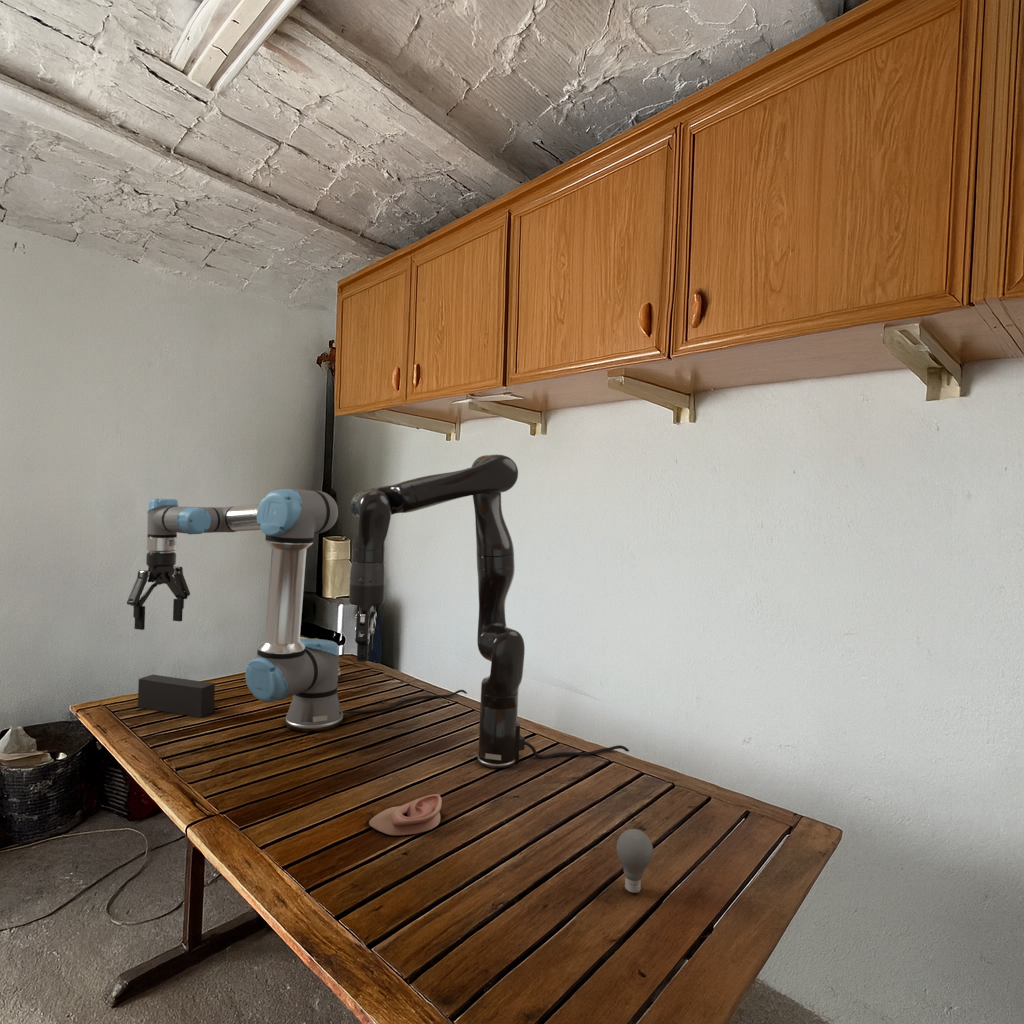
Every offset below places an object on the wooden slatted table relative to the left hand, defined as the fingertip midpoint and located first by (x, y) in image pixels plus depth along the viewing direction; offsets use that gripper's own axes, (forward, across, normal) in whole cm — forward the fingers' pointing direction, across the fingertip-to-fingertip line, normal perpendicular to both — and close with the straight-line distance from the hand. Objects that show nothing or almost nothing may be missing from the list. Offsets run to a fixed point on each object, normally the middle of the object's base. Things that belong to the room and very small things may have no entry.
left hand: (159, 625), depth 183 cm
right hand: (-5, -25, -80) cm, 84 cm away
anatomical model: (+24, -34, -96) cm, 104 cm away
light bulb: (+24, -42, -140) cm, 148 cm away
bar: (+24, 0, -7) cm, 25 cm away
